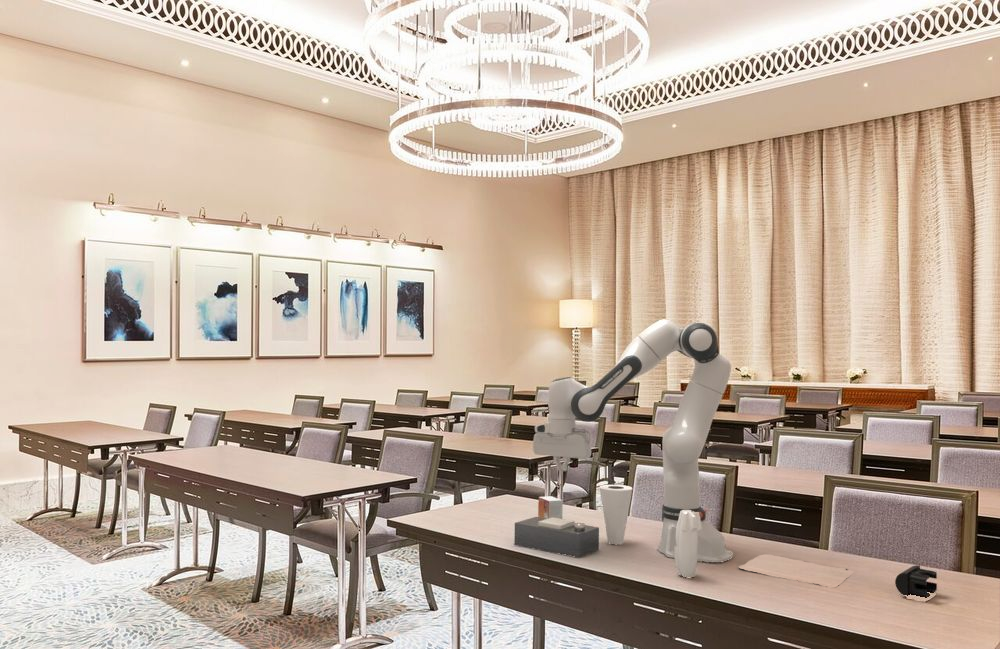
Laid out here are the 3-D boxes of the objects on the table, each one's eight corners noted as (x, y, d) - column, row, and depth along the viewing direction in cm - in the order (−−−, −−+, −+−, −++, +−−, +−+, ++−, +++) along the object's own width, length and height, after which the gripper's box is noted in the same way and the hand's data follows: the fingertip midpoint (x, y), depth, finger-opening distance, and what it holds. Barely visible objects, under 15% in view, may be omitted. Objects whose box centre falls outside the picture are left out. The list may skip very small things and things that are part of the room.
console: (598, 549, 233) (599, 522, 234) (579, 557, 224) (579, 529, 224) (535, 537, 248) (535, 511, 248) (514, 544, 238) (514, 517, 239)
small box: (537, 526, 265) (538, 496, 265) (551, 525, 267) (551, 495, 268) (548, 531, 257) (548, 500, 258) (562, 530, 260) (562, 499, 260)
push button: (574, 543, 237) (574, 520, 237) (560, 548, 230) (560, 525, 230) (552, 539, 242) (552, 517, 242) (537, 544, 235) (538, 521, 235)
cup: (622, 549, 235) (622, 491, 236) (593, 543, 241) (593, 487, 242) (637, 542, 243) (638, 487, 244) (609, 537, 250) (609, 483, 250)
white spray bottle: (705, 579, 204) (689, 571, 211) (705, 512, 205) (689, 507, 212) (685, 581, 202) (669, 573, 209) (685, 514, 203) (669, 508, 209)
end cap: (907, 588, 198) (907, 563, 199) (937, 595, 193) (937, 568, 193) (894, 596, 191) (894, 570, 191) (925, 603, 186) (925, 576, 186)
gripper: (594, 428, 237) (595, 472, 236) (540, 425, 249) (541, 466, 248) (585, 430, 232) (585, 474, 231) (530, 426, 244) (530, 469, 243)
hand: (561, 470), depth 240 cm, fingers closed
